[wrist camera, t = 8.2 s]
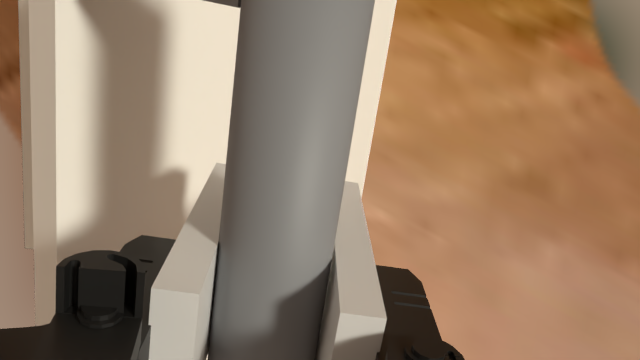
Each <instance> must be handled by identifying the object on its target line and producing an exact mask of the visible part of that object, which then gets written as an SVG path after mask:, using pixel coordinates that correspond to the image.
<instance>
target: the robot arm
mask: <svg viewBox="0 0 640 360" xmlns="http://www.w3.org/2000/svg"><path fill="white" fill-rule="evenodd" d="M225 168H226V164H223V163H216V165H215V166H214V168H213V170H212V172H211V174H210V176H209V178H208V180H207V182H206V184H205V186H204V188H203V189H202V191H201V193H200V195H199V197H198V199H197V201H196V203H195V205H194V207H193V209H192V211H191V212H190V214H189V216H188V218H187V220H186V222H185V224H184V226H183V228H182V230H181V232H180V234H179V235H178V237H177V239H176V240H175V239H168V238H161V237H153V236H146V235H141V236H139V237H137V238H135V239H133V240H131V241H130V242H128V243H126V244H125V245H124V246H123V247H122V249H121V250H120V252H118V251H112V250H92V251H87V252H81V253H77V254H74V255H72V256H69V257H67V258H65V259H63V260H62V261H61V262H60V263H59V264H58V265H57V266H56V308H55V315H54V316H53V318H52V320H51V322H50V323H49V324H45V325H41V326H34V327H24V328H9V329H0V360H206V358H207V355H208V348H209V338H210V327H211V316H212V306H213V295H214V285H215V275H216V265H217V255H218V245H219V232H220V221H221V210H222V200H223V189H224V178H225ZM315 360H464V358H463V356H462V354H461V353H459V352H458V351H457V350H456V349H455V348H454V347H453V346H451V345H449V344H448V343H446V342H444V341H442V339H441V336H440V333H439V331H438V328H437V325H436V322H435V319H434V316H433V313H432V311H431V309H430V305H429V302H428V299H427V298H426V294H425V291H424V288H423V285H422V282H421V281H420V280H419V279H418V278H417V277H416V276H415V275H413V274H412V273H411V272H410V271H409V270H408V269H401V268H394V267H386V266H379V265H375V260H374V256H373V251H372V246H371V242H370V237H369V232H368V228H367V223H366V218H365V213H364V209H363V204H362V199H361V195H360V190H359V185H358V183H354V182H348V181H345V184H344V190H343V196H342V202H341V208H340V214H339V220H338V226H337V232H336V238H335V244H334V250H333V256H332V262H331V268H330V274H329V280H328V286H327V292H326V298H325V304H324V310H323V316H322V322H321V328H320V334H319V340H318V346H317V352H316V358H315Z"/></svg>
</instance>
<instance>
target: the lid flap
mask: <svg viewBox="0 0 640 360" xmlns="http://www.w3.org/2000/svg"><path fill="white" fill-rule="evenodd" d="M396 2H397V0H29V46H30V95H31V144H32V192H33V241H34V285H35V286H34V289H35V326H41V325H45V324H49V323H50V322H51V320H52V318H53V316H54V315H55V308H56V266H57V265H58V264H59V263H60V262H61V261H62V260H63V259H65V258H67V257H69V256H72V255H74V254H77V253H81V252H87V251H92V250H112V251H118V252H120V250H121V249H122V247H123V246H124V245H125V244H126V243H128V242H130V241H131V240H133V239H135V238H137V237H139V236H141V235H146V236H153V237H161V238H168V239H175V240H176V239H177V237H178V235H179V234H180V232H181V230H182V228H183V226H184V224H185V222H186V220H187V218H188V216H189V214H190V212H191V211H192V209H193V207H194V205H195V203H196V201H197V199H198V197H199V195H200V193H201V191H202V189H203V188H204V186H205V184H206V182H207V180H208V178H209V176H210V174H211V172H212V170H213V168H214V166H215V165H216V163H223V164H226V168H225V178H224V189H223V200H222V210H221V221H220V232H219V245H218V255H217V265H216V275H215V285H214V295H213V306H212V316H211V327H210V338H209V348H208V355H207V358H206V360H315V358H316V352H317V346H318V340H319V334H320V328H321V322H322V316H323V310H324V304H325V298H326V292H327V286H328V280H329V274H330V268H331V262H332V256H333V250H334V244H335V238H336V232H337V226H338V220H339V214H340V208H341V202H342V196H343V190H344V184H345V181H348V182H354V183H358V185H359V190H360V195H361V198H362V193H363V187H364V181H365V176H366V170H367V164H368V159H369V153H370V148H371V142H372V136H373V131H374V125H375V120H376V114H377V108H378V103H379V97H380V91H381V86H382V80H383V75H384V69H385V63H386V58H387V52H388V47H389V41H390V35H391V30H392V24H393V19H394V13H395V7H396Z"/></svg>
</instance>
